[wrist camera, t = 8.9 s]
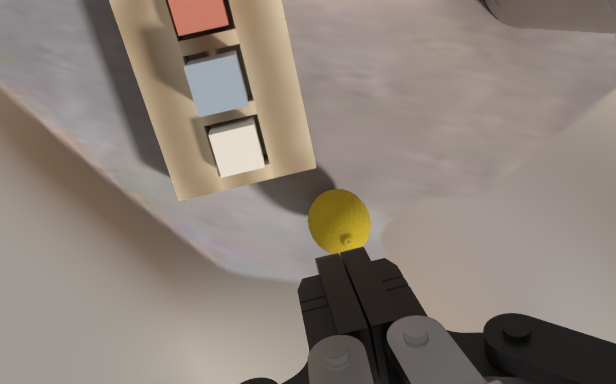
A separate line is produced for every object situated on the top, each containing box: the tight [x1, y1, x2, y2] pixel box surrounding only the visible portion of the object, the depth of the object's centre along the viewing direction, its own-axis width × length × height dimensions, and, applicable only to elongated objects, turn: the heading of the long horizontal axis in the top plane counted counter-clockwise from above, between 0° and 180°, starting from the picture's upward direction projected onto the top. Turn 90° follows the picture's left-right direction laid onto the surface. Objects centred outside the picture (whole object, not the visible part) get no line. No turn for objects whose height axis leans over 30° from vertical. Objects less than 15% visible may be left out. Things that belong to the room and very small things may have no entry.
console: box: [109, 0, 316, 201], centre depth 37 cm, size 12×18×4 cm, turn 12°
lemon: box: [308, 189, 371, 255], centre depth 41 cm, size 6×6×8 cm
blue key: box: [183, 50, 248, 117], centre depth 34 cm, size 4×4×4 cm
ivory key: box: [209, 115, 265, 178], centre depth 38 cm, size 4×4×4 cm
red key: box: [168, 0, 230, 36], centre depth 33 cm, size 4×4×4 cm
